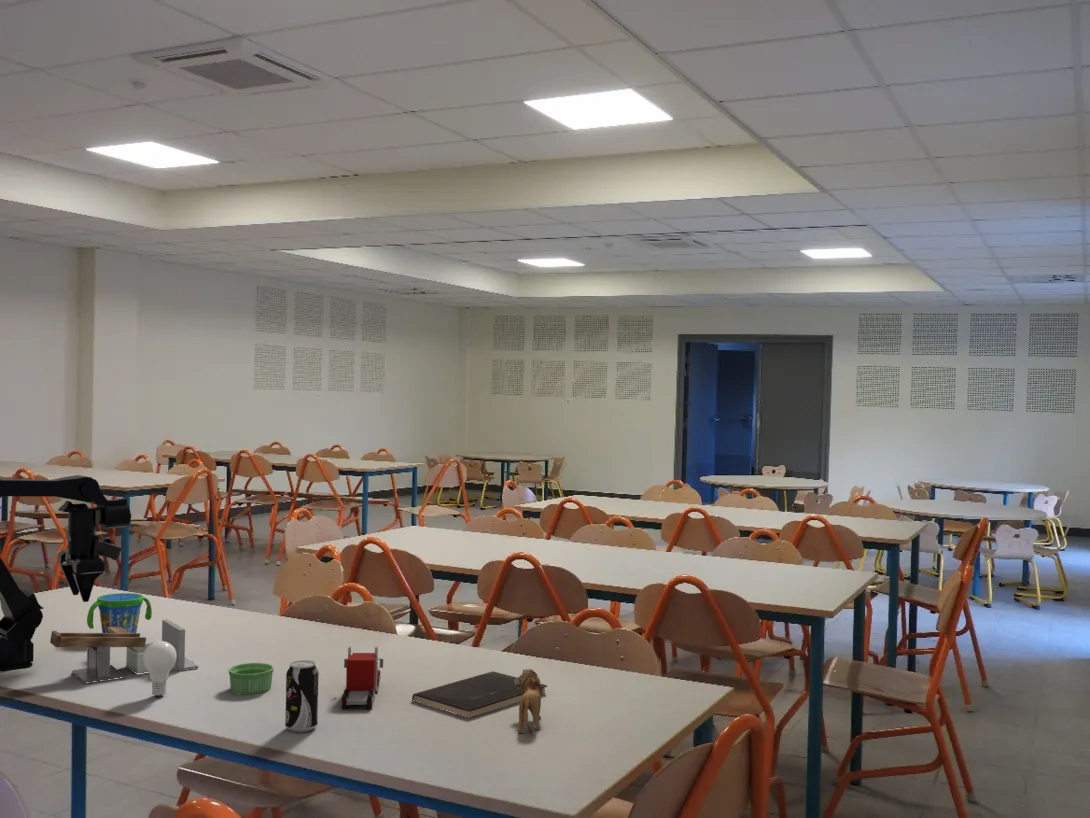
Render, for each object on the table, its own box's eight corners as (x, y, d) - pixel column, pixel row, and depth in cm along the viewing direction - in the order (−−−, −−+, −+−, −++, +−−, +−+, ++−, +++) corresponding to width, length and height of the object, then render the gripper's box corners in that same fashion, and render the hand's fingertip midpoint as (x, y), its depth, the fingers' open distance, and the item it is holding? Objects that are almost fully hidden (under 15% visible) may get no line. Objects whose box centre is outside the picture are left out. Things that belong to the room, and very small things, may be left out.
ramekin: (281, 685, 211) (282, 664, 211) (258, 697, 202) (258, 675, 202) (243, 681, 213) (244, 660, 213) (219, 693, 205) (219, 671, 205)
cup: (137, 675, 216) (137, 654, 216) (126, 666, 223) (126, 646, 223) (176, 669, 221) (176, 648, 221) (164, 661, 228) (164, 641, 228)
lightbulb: (140, 702, 198) (141, 646, 197) (143, 692, 204) (144, 638, 204) (174, 700, 199) (175, 644, 199) (177, 690, 205) (178, 637, 205)
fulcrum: (83, 684, 209) (84, 649, 209) (72, 673, 217) (72, 640, 217) (124, 678, 214) (124, 644, 214) (111, 667, 222) (111, 635, 221)
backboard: (178, 671, 220) (179, 630, 220) (161, 659, 229) (162, 619, 229) (198, 668, 222) (198, 627, 222) (180, 656, 232) (180, 617, 232)
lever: (56, 650, 207) (58, 636, 207) (35, 631, 222) (37, 618, 222) (145, 649, 218) (147, 636, 218) (120, 632, 233) (122, 620, 233)
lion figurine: (512, 712, 196) (513, 666, 196) (540, 712, 197) (541, 666, 197) (517, 737, 182) (518, 688, 182) (547, 737, 182) (548, 687, 182)
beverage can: (279, 728, 184) (280, 662, 184) (306, 721, 188) (308, 657, 188) (295, 736, 180) (297, 669, 180) (323, 729, 184) (324, 663, 184)
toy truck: (385, 683, 215) (385, 636, 215) (377, 712, 195) (378, 660, 195) (347, 683, 214) (347, 636, 214) (335, 712, 195) (336, 660, 195)
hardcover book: (546, 696, 209) (547, 685, 209) (468, 722, 192) (469, 710, 191) (490, 681, 219) (490, 670, 219) (411, 704, 202) (411, 692, 202)
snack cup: (142, 629, 258) (143, 589, 257) (159, 637, 250) (160, 596, 250) (78, 638, 247) (79, 597, 247) (94, 646, 239) (95, 604, 239)
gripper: (130, 532, 229) (129, 601, 229) (107, 523, 244) (106, 588, 244) (77, 536, 222) (76, 607, 222) (57, 526, 237) (56, 593, 237)
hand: (80, 598), depth 231 cm, fingers open, 9 cm apart
